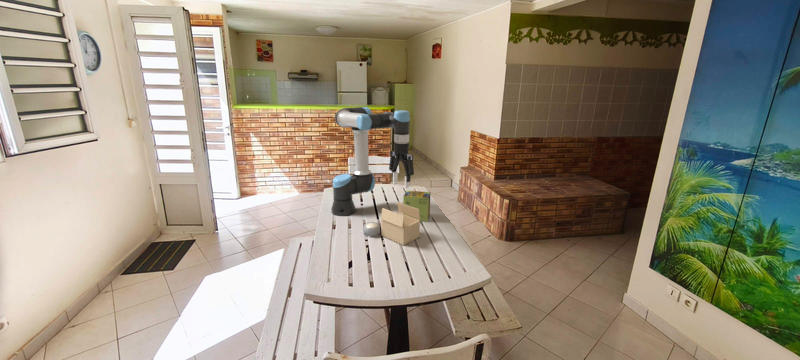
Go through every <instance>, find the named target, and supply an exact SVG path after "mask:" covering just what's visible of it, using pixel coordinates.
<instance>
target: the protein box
mask: <svg viewBox="0 0 800 360" xmlns="http://www.w3.org/2000/svg"><path fill="white" fill-rule="evenodd" d="M402 204H405V205H408V206H411V207H414V208H417V209H419V214H420V219H417V218H415V219H417V220H420V222H423V221H425V222H426V223H428V222H429V219H430V215H431V192H430V191H419V190H418V191H417V190H406V191H405V193H404V194H403V203H402ZM404 215H406V214H404ZM407 216H409V215H407ZM409 217H412V216H409ZM412 218H414V217H412Z"/></svg>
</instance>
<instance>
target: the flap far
mask: <svg viewBox="0 0 800 360" xmlns="http://www.w3.org/2000/svg"><path fill="white" fill-rule="evenodd" d="M397 210H398V212H399V213H401V214H406V215H409V216H412V217H414V218H417V219H420V214H419V209H417V208H414V207H411V206H408V205H405V204H403V203H402V202H397Z"/></svg>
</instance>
